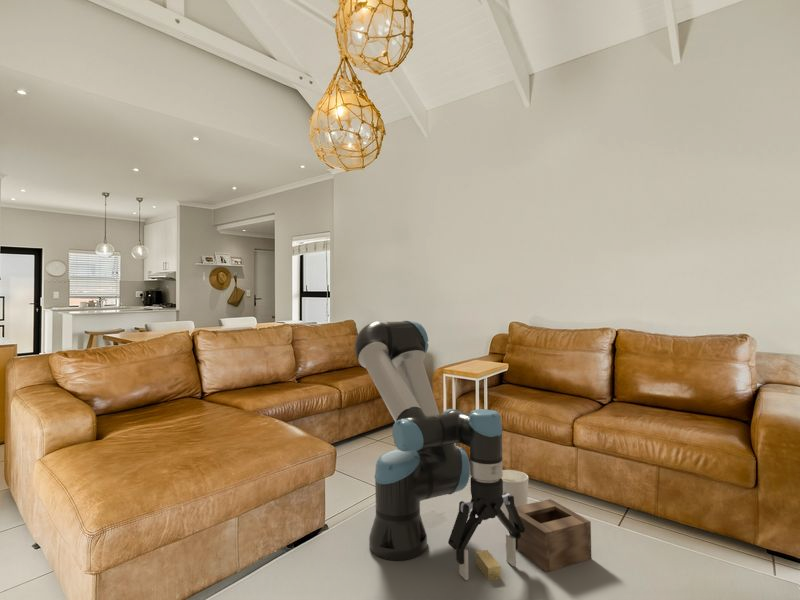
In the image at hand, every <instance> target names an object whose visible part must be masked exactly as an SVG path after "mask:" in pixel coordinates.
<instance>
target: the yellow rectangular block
mask: <svg viewBox="0 0 800 600" xmlns="http://www.w3.org/2000/svg"><path fill="white" fill-rule="evenodd" d="M475 565H476V566H477V567H478V566H479V567H478V568H479V569H481V570H480V571H481V572H482V574H483V573H484V574H485V575H484V574H483V575H484V576H485V578H486V577H487V578H486V579H487V581H488V580H489V581H492V580H491V579H495V580H497V579H496V578H501V564H499V562H498V561H497V560H496V559H495V558H494V556H493V555H492V554H491V553H490V551H489V550H487V549H483V550H476V551H475ZM501 579H502V578H501Z"/></svg>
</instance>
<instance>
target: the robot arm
mask: <svg viewBox="0 0 800 600" xmlns="http://www.w3.org/2000/svg"><path fill="white" fill-rule="evenodd" d="M427 333H428V332H427V331H426V329H425V327H424V326H423V325H422V324H421V323H419V322H417V321H413V320H402V321H374V322H371V323H369V324H367V325H365V326H364V327H363V328H362V329H361V330H360V331H359V333H357V337H356V338H355V342H354V354H355V357H356V359H357V361H358V363H359V365H360V366H361V367H363V368H365V369H366V370H367V372H368V374H369V376H370V378H371V380H372V381H373V383H374V386H375V387H376V389H377V391H378V393H379V396H380V397H381V399H382V400H383V403H384V404H385V406H386V408H387V410H388V412H389V413H390V415H391V417H392V419H393V420H394V423H393V425H392V429H391V430H392V432H391V433H392V438H393V443H394V446H395V447H396V448H397V449H393V450H390V451H387V452H385V453H383V454H382V455H380V456H379V457H378V459H377V461H376V462H375V463H376V464H375V473H374V482H375V486H374V487H375V489H374V490H375V516H374V520H373V524H372V525H371V528H370V529H371V530H370V533H369V537H368V542H369V544H368V545H369V550H370V551H371V553H373V555H375V556H377V557H379V558H381V559H385V560H390V561H404V560H405V561H406V560H410V559H413V558H416V557H419V556H420V555H422V554H423V553H424V552H425V551H426V549H427V547H428V535H427V532H426V529H425V525H424V522H423V520H422V519H423V518H422V516H421V501H425V500H429V499H433V498H437V497H441V496H446V495H452V494H454V493H456V492H460V491H462V490H464V489H465V488H466V486H467V485H468V483H469V481H470V494H471V499H470V501H469V502H464V501H463V500H461V501H460V502H459V503H458V512H457V516H456V517H455V521H454V523H453V527H452V530H451V533H450V536H449V538H448V542H447V543H448V545H449V546H450V547H451V548H452V549H453V550H454V551H455V550H456V551H455V555H456V556H455V557H456V562H457V563H458V564H459V565H458V566H459V575H460V576H461V577H462V578H463V579H464V580H465V581H468V580H469V550H468V549H467V548H466V547H467V546H468V543H470V541H471V538H473V535H474V533H475V531H476V529H477V528H478V526H479V525H481V524H482V522H483V521H487V520H490V519H495V518H498V520H499V521H500V523H501V524H502V525H503V526H504V527H505V530H507V531H508V532H507V533H505V551H506V557H505V558H506V562H507V563H509V564H510V565H511V566H512V567H516V566H517V551H516V550H517V548H518V539H519V538H520V537H521V534H520V533H521V532H522V533H523V532H524V531H525V528H524V526H523V524H522V521H521V519H520V517H519V514H518V512H517V510H516V507H515V505H514V497H513V496H512V495H510V494H509V493H507V492H505V493H504V495H503V480H502V479H501V478H502V476H503V471H502V470H503V427H502V426H503V425H502V415H501V413H499V412H498V411H496V410H493V409H487V408H486V409H485V408H481V409H474V410H471V411H470V413H468V412H464V411H463V410H460V409H455V408H447V409H446V410H444V411H443V412H442V413H440V412H439V408H438V405H437V402H436V398H435V396H434V393H433V390H432V386H431V383H430V380H429V376H428V374H427V371H426V366H425V363H424V360H425V358H426V357H427V354H426V353H427V351H428V349H429V343H428V342H429V337H428V334H427ZM459 443H460V444H461V445H465V446H467V447H469V457H468V454H467V452H466V450H464V449H463V448H462V447H461V446H457V445H456V444H459ZM469 479H470V480H469ZM503 502H504V503H505V506H506V508H507V510H508V513H509V515H510V517H511V520H512V522H513V524H514V526H513V525H512V524H511V522H510V521H509V520H508V519H507V517H506V516H505V514H504V513H503V511H502V510H501V509H500V508H501V506H502V504H503ZM476 516H477V517H476ZM509 532H510V534H509Z"/></svg>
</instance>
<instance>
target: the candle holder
mask: <svg viewBox="0 0 800 600" xmlns="http://www.w3.org/2000/svg"><path fill="white" fill-rule="evenodd" d="M502 471H503V476H502V478H501V479H502V480H503V495H504V493H505V492H507V493H509V494H510V495H512V496H513V497H514V505H515V507H517V506H521V505H526V504H528V494H529V493H528V492H529V475H528V474H527V473H525V472H523V471H520V470H517V469H502ZM500 509H501V510H502V511H503V513H504V514H505V516H506V517H507V519H508V520H509V513H508V510H507V508H506V506H505V503H504V502H503V504H502V506H501V508H500Z"/></svg>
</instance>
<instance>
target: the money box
mask: <svg viewBox="0 0 800 600" xmlns="http://www.w3.org/2000/svg"><path fill="white" fill-rule="evenodd" d="M516 510H517V512H518V514H519V517H520V519H521V521H522V524H523V526H524V528H525V531H524V532H523V533H522V532H521V533H520V534H521V537H520V538H519V539H518V548H517V549H516V550H518V551H519V552H520V554H522V555H524V556H525V557H526V558H528V559H529V560H530V561H531V562H533V563H534V564H535V565H537V566H538V567H539V568H540V569H541V570H543V571H544V572H545V573H549V572H551V571H554V570H558V569H563V568H565V567H568V566H571V565H574V564H575V565H576V564H578V563H581V562H585V561H588V560H592V558H593V557H592V526H591V524H592V523H591V520H589V519H587V518H585V517H584V516H582V515H581V514H578V513H576V512H575V511H572V510H571V509H570V508H567V507H565V506H563V505H562V504H560V503H559V502H556V501H555V500H553V499H551V498H550V499H545V500H540V501H535V502H531V503H527V504H526V505H521V506H517V507H516ZM509 521H510V522H511V524H512V525H513V526H514V524H513V522H512V520H511V517H510V515H509ZM508 533H509V534H510V532H509V531H508Z"/></svg>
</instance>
